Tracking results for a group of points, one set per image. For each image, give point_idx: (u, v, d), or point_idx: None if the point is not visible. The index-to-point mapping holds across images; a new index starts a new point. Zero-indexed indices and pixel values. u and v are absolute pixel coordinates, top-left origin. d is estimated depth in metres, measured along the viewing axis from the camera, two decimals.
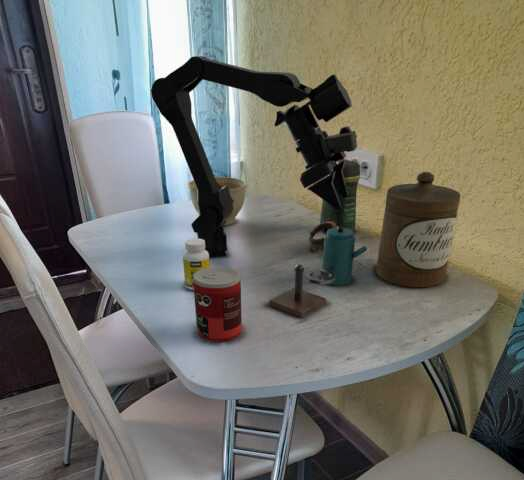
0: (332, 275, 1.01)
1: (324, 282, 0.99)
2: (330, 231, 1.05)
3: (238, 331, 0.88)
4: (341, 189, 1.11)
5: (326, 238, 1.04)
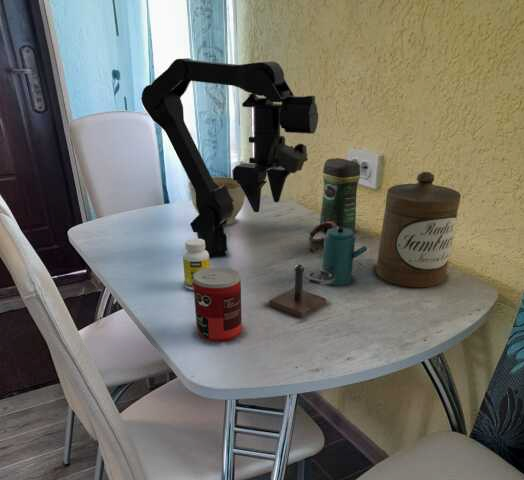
0: (332, 275, 1.01)
1: (324, 282, 0.99)
2: (330, 231, 1.05)
3: (238, 331, 0.88)
4: (275, 193, 1.15)
5: (326, 238, 1.04)
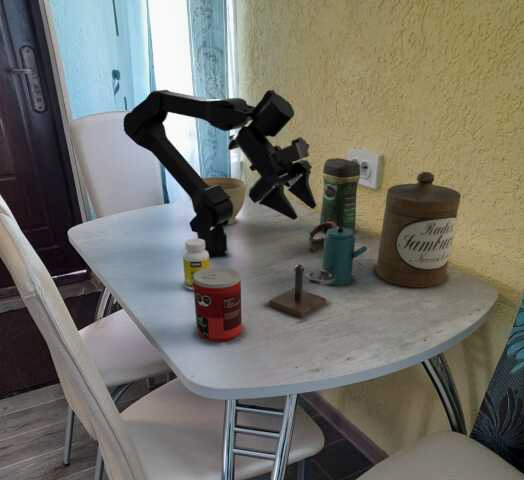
0: (332, 275, 1.01)
1: (324, 282, 0.99)
2: (330, 231, 1.05)
3: (238, 331, 0.88)
4: (308, 200, 1.10)
5: (326, 238, 1.04)
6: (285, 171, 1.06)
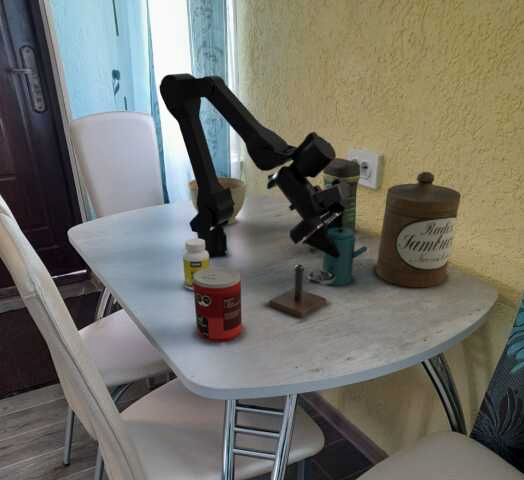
0: (332, 275, 1.01)
1: (324, 282, 0.99)
2: (330, 231, 1.05)
3: (238, 331, 0.88)
4: None
5: None
6: (324, 210, 1.06)
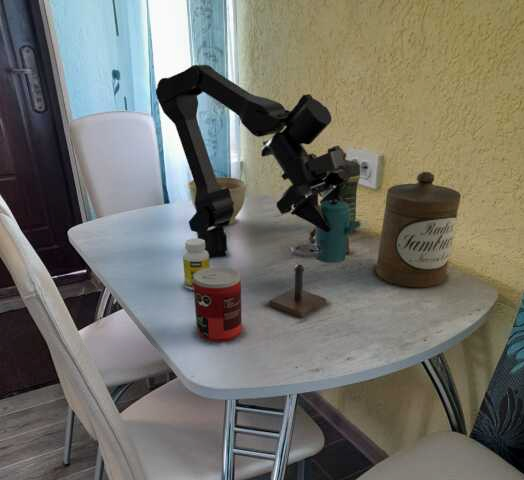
0: (319, 249, 0.94)
1: (308, 255, 0.93)
2: (323, 203, 0.98)
3: (238, 331, 0.88)
4: None
5: None
6: (319, 181, 0.99)
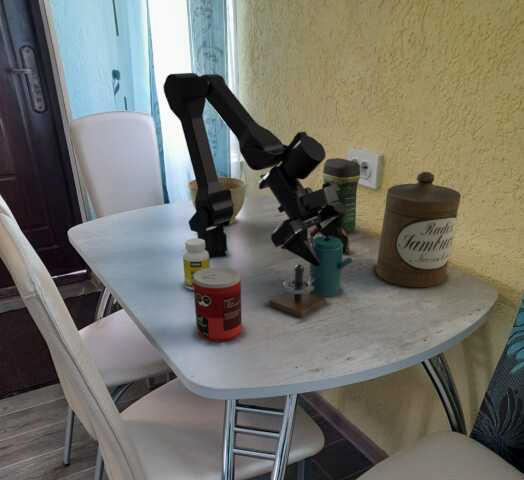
0: (310, 285, 0.97)
1: (299, 292, 0.95)
2: (316, 239, 1.00)
3: (238, 331, 0.88)
4: None
5: None
6: (315, 214, 1.01)
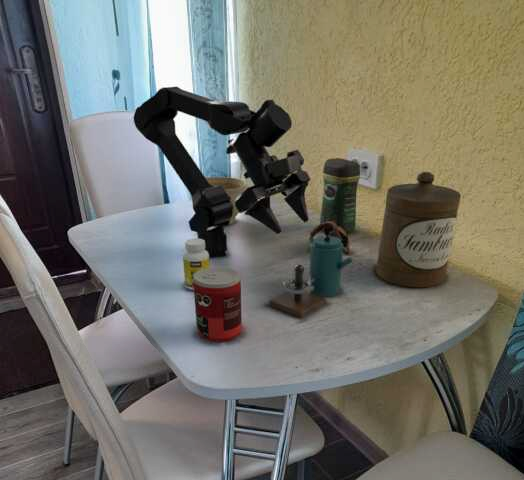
0: (310, 285, 0.97)
1: (299, 292, 0.95)
2: (316, 239, 1.00)
3: (238, 331, 0.88)
4: (301, 213, 1.08)
5: (311, 246, 1.00)
6: (279, 182, 1.05)
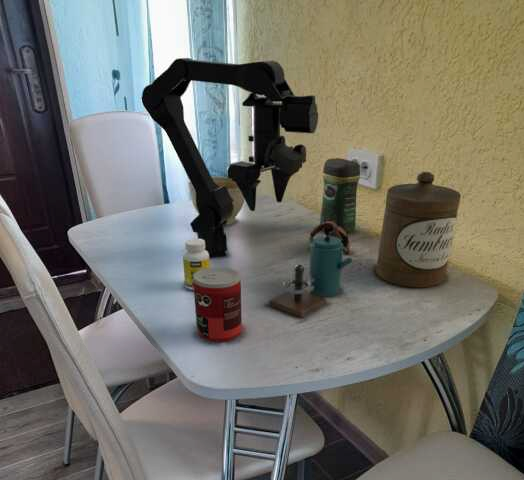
0: (310, 285, 0.97)
1: (299, 292, 0.95)
2: (316, 239, 1.00)
3: (238, 331, 0.88)
4: (278, 193, 1.14)
5: (311, 246, 1.00)
6: None
